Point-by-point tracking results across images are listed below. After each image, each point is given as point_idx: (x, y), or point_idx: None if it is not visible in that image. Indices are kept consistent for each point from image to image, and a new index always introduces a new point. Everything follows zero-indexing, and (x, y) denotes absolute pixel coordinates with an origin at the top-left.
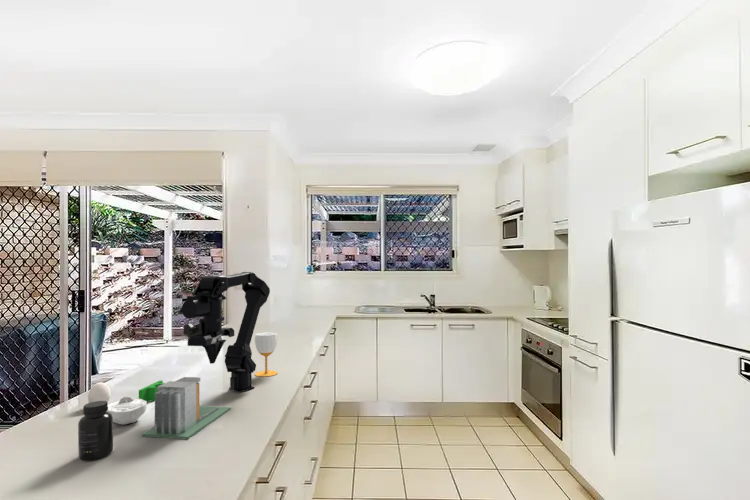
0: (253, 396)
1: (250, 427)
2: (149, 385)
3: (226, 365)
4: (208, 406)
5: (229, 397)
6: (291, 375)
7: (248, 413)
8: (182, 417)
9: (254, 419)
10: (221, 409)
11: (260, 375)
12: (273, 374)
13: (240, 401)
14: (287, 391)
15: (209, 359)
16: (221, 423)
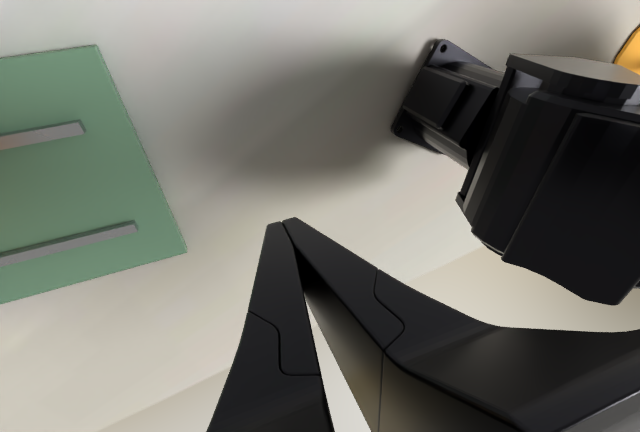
0: (352, 215)
1: (81, 394)
2: None
3: (510, 97)
4: (142, 158)
5: (323, 132)
6: None
7: (181, 318)
8: None
9: (145, 362)
10: (143, 241)
11: (627, 57)
12: None
13: (286, 213)
14: (413, 270)
15: (263, 256)
16: (38, 322)
